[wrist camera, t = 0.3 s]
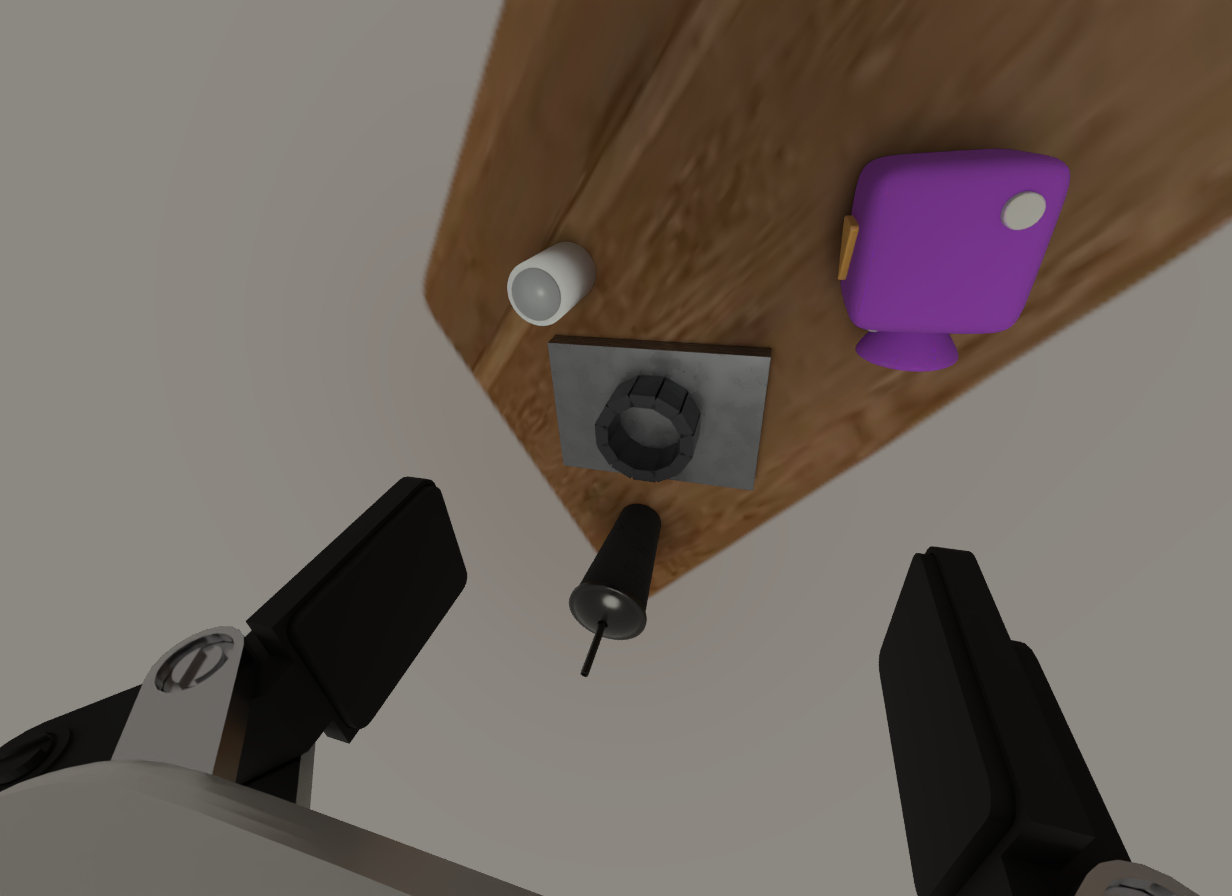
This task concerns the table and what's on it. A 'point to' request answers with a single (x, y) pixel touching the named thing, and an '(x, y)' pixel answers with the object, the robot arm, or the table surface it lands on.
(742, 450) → the lens mount
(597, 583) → the drinking cup
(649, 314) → the table surface
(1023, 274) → the toy camera
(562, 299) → the white cylinder
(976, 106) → the table surface
